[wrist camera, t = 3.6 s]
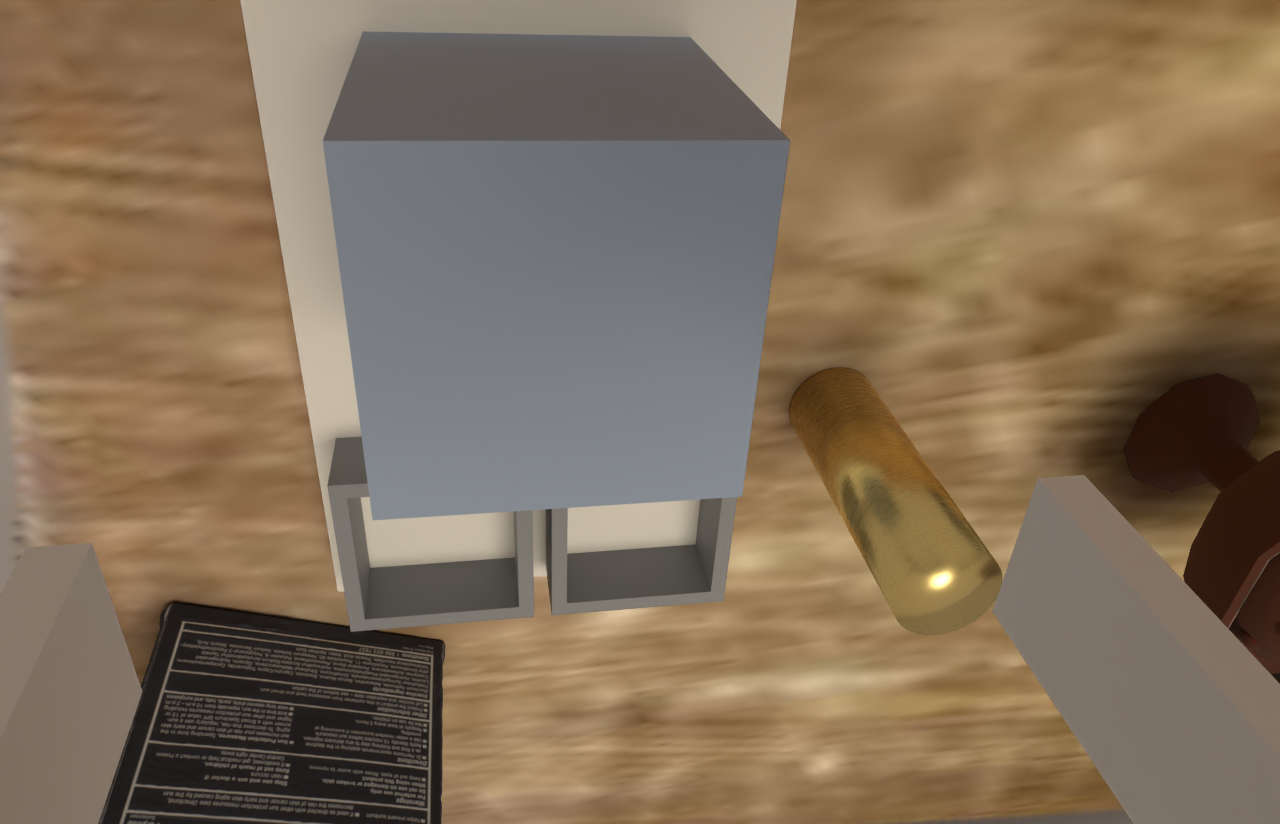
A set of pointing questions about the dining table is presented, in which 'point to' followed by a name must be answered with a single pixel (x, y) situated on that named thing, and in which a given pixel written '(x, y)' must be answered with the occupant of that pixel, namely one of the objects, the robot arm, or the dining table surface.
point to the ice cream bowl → (1221, 502)
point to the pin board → (361, 547)
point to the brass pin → (894, 506)
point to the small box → (281, 725)
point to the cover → (551, 268)
